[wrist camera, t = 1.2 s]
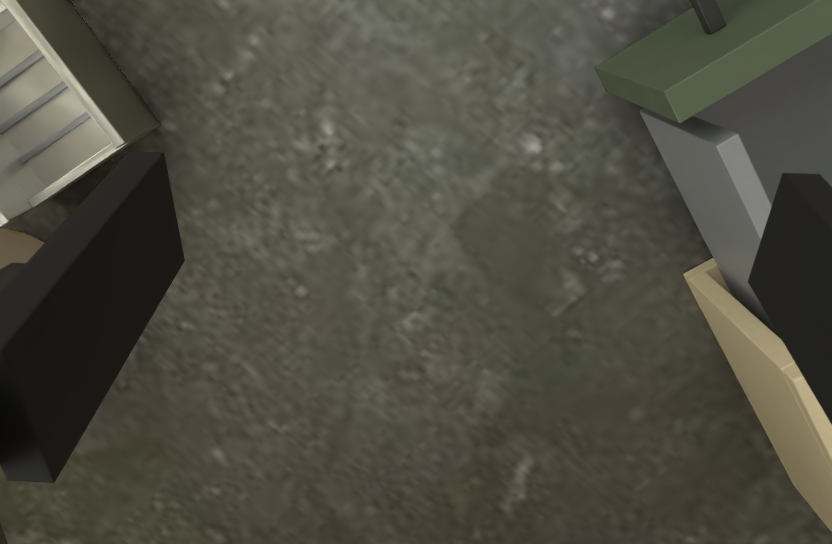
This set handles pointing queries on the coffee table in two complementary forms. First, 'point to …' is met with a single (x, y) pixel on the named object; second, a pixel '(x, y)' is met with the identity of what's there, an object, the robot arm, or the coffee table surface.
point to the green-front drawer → (734, 114)
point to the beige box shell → (771, 388)
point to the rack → (58, 104)
